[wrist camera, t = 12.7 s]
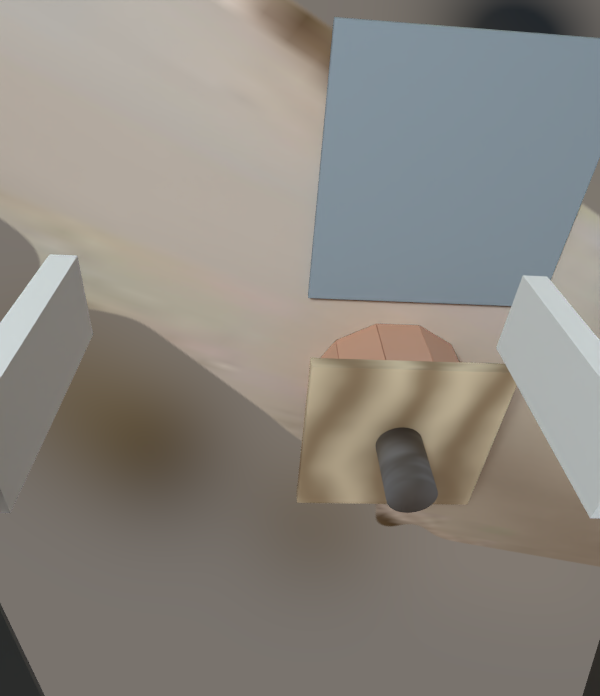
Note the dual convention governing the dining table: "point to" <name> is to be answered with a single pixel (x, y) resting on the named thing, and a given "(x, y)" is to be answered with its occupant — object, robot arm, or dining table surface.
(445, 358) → the terracotta bowl
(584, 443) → the robot arm
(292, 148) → the dining table surface
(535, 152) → the slate mat
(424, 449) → the oak lid
